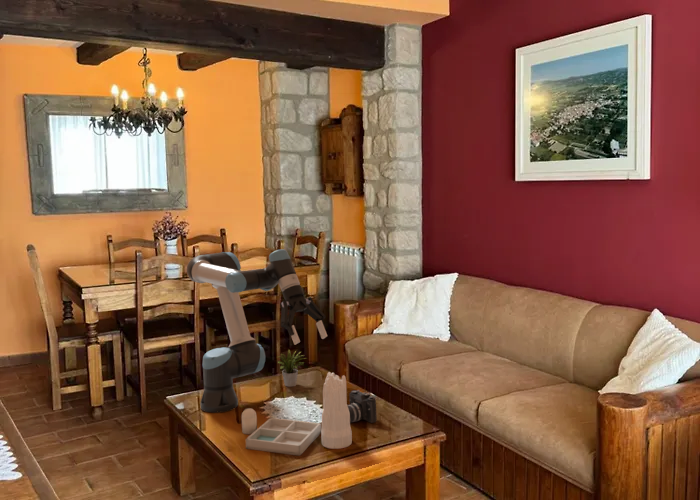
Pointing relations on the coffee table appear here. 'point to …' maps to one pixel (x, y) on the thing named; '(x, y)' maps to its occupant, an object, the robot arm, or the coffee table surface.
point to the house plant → (290, 368)
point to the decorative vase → (335, 414)
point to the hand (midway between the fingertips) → (311, 340)
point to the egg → (249, 421)
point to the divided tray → (284, 436)
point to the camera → (362, 407)
